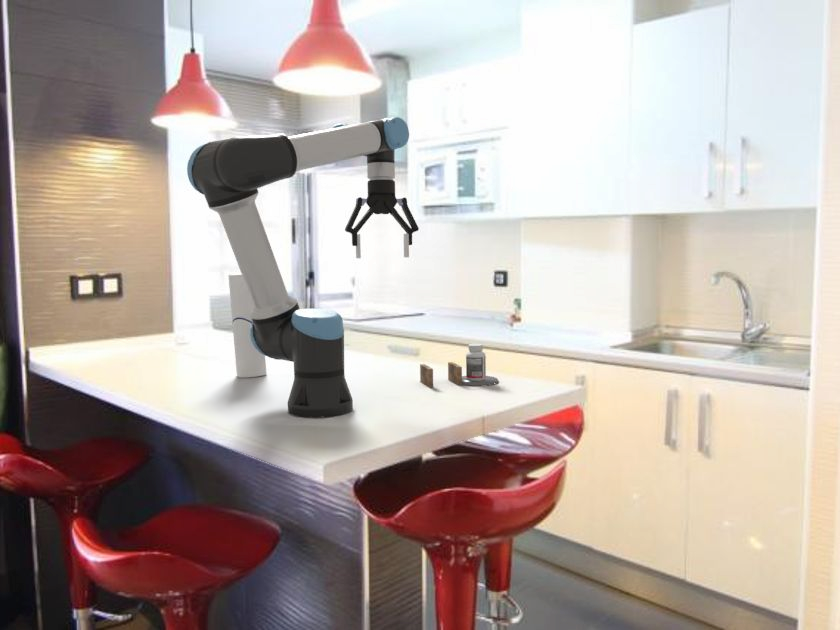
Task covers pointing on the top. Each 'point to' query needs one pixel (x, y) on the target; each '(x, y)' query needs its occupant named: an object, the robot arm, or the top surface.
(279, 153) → the robot arm
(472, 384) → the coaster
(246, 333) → the container
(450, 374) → the cradle
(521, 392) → the top surface
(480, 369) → the pill bottle
